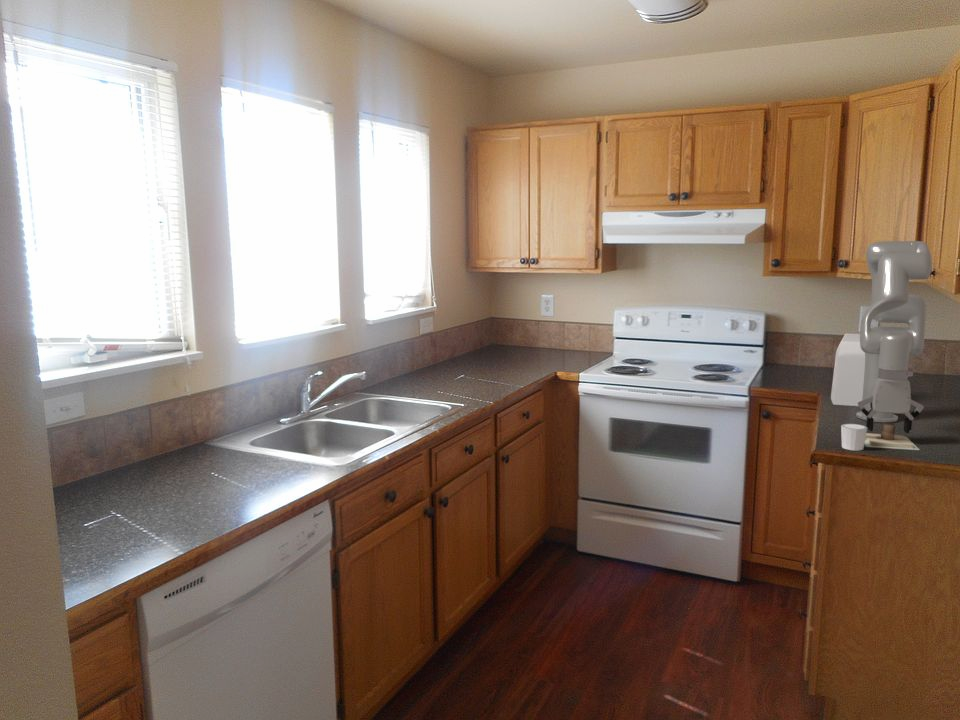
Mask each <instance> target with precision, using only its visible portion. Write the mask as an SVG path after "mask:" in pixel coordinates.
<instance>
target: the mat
mask: <svg viewBox="0 0 960 720" xmlns="http://www.w3.org/2000/svg"><path fill="white" fill-rule="evenodd" d="M905 437H906V438H907V439H908V440H909V441H910V442H911V443H912V444H913V448H900V447H884V446H871V445H870V444H869V443H868V442H867V440H866V439H865V443H864V447H865V448H877V449H880V448H881V449H893V450H894V449H895V450H908V451H909V450H910V451H911V450H912V451H921V449H920V448H919V447H917V445H915V444H914V442H912V441H911V439H909V438H908V437H907V436H905Z"/></svg>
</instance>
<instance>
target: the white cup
mask: <svg viewBox="0 0 960 720" xmlns="http://www.w3.org/2000/svg"><path fill="white" fill-rule="evenodd" d="M840 430H841V432H840V433H841V437H840V438H841V448H842V449H845V450H847V451H848V450H849V451H863V450H864V449H865V445H864V443H865V438H866V433H868V428H867V427H866V425H862V424H858V423H844V424H841V425H840Z"/></svg>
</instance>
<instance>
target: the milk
mask: <svg viewBox="0 0 960 720" xmlns="http://www.w3.org/2000/svg"><path fill="white" fill-rule="evenodd" d="M834 357H835V358H834V367H833V376H832V385H831V391H830V400H831V403H832V405H835V406H851V407H854V406H855V407H859V405H858V402H860V401H862V397H863V384H864V370H865V352H863V351H862V349H861V347H860V333H845V334H844V336H843V337H842V339H841V341H840V343H839V344H838V346H837V349H836V351H835V356H834Z"/></svg>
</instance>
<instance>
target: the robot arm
mask: <svg viewBox="0 0 960 720" xmlns="http://www.w3.org/2000/svg"><path fill="white" fill-rule="evenodd" d="M929 248H930V247H929V246H928V244H927V243H926V242H925V241H921V240H908V241H907V240H887V241H886V240H883V241H876V242H872V243H870V244H869V245H868V246H867V248H866V251H865V259H866V265H867V266H866V267H867V268H868V272H869V274H870V278H871V295H870V306H868V308H867V309H866V310H865V311H864V313H863V316H862V318H861V320H860V329H859V331H860V332H859V334H860V347H861V349H862V351H863V352H865V370H864V384H863V397H862V401H860V402H858V405H859V406H858V408H859V409H860V411H857V412H856V414H855V417H856V418H858V419H860V420H863V421H866V424H865V426H866V427H867V431H869V432H873V431H874V422H875V423H893V422H894V423H895V422H897V421H899V416H898V415H900V414H901V415H904V416H905V418H904V421H903V422H904V423H903V432H904V433H905V434H910V431H912V426H913V425H912V424H913V421H914V419H916V418H917V417H918V416H919V415H920V413H921V412H922V411H923V409H924V408H925V407H924V405H922V404H921V403H919V402H917V401H915V400H913V399H912V395H911V393H912V392H911V391H912V390H911V384H910V383H911V382H910V380H909V377H913V376H914V372H913V371H909V369H908V368H909V358H910V357H917V356H920V355H921V354H922V353H923V350H924V347H925V346H924V345H925V336H926V335H925V332H926V320H927V319H926V318H927V306H926V300H925V299H924V297H923V296H921V295H917V294H910V293H909V292H910V291H909V287H910V286H909V285H910V284H909V282H910V280H915V281H916V280H920V281H922V280H926V279H928V278H929V277H930V275H931V273H932V270H933V269H932V268H933V260H932V255H931V252H930V249H929ZM872 320H873V321H875V322H878V323H891V324H892V323H894V324H907V325H908V327H903V326H901V327H900V326H873V327H871V325H872ZM912 406H913V407H915V410H913V411H912V412H911V413H910V411H911V407H912ZM897 414H898V415H897Z"/></svg>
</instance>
